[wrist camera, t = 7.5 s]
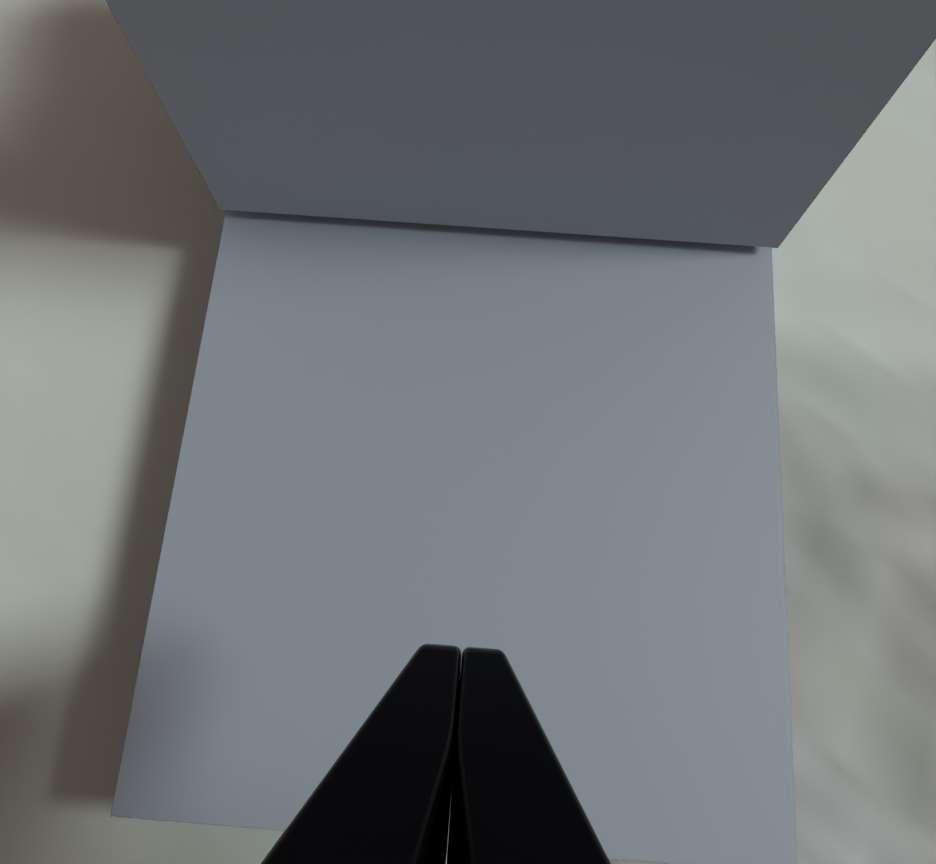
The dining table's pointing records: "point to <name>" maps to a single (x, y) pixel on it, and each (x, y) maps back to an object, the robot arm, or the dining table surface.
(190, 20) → the sliding jaw
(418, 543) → the plate
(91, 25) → the dining table surface
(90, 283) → the dining table surface
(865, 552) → the dining table surface
